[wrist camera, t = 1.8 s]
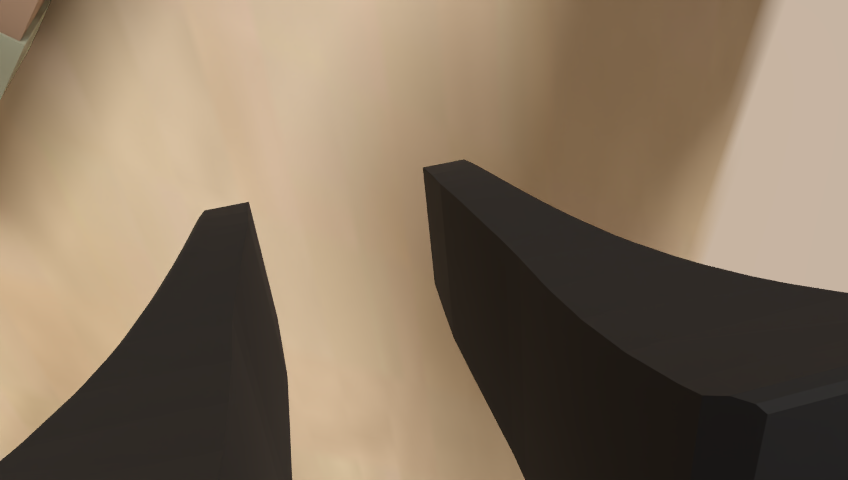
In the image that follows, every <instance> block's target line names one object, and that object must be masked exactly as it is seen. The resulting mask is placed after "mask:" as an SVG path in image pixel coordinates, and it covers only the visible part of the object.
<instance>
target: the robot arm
mask: <svg viewBox="0 0 848 480" xmlns="http://www.w3.org/2000/svg"><path fill="white" fill-rule="evenodd" d="M423 173H424V183H425V192H426V202H427V212H428V221H429V231H430V241H431V251H432V260H433V270H434V280H435V285H436V288H437V291H438V294H439V297H440V300H441V303H442V306H443V309H444V312H445V315H446V317H447V320H448V323H449V326H450V328H451V331H452V334H453V337H454V339H455V341H456V343H457V345H458V347H459V349H460V351H461V353H462V355H463V357H464V359H465V361H466V363H467V365H468V367H469V369H470V371H471V373H472V375H473V377H474V379H475V380H476V382H477V384H478V386H479V388H480V390H481V392H482V394H483V396H484V398H485V400H486V402H487V404H488V406H489V408H490V409H491V411H492V413H493V415H494V417H495V419H496V421H497V423H498V425H499V427H500V429H501V431H502V433H503V435H504V437H505V438H506V440H507V442H508V444H509V446H510V448H511V450H512V452H513V454H514V456H515V458H516V460H517V463H518V465H519V467H520V469H521V471H522V474H523V476H524V478H525V480H848V293H844V292H837V291H831V290H825V289H819V288H812V287H806V286H800V285H793V284H787V283H783V282H777V281H772V280H767V279H762V278H757V277H752V276H748V275H744V274H739V273H736V272H732V271H727V270H723V269H719V268H715V267H711V266H707V265H703V264H700V263H696V262H693V261H689V260H686V259H682V258H679V257H675V256H672V255H669V254H666V253H663V252H660V251H658V250H655V249H652V248H649V247H646V246H643V245H640V244H637V243H634V242H631V241H629V240H626V239H623V238H621V237H618V236H616V235H613V234H611V233H608V232H606V231H604V230H602V229H599V228H597V227H595V226H592V225H590V224H588V223H586V222H583V221H581V220H579V219H577V218H574V217H572V216H570V215H568V214H566V213H564V212H562V211H560V210H558V209H556V208H554V207H552V206H550V205H548V204H546V203H544V202H542V201H540V200H538V199H537V198H535V197H533V196H531V195H529V194H527V193H525V192H523V191H522V190H520V189H518V188H516V187H514V186H513V185H511V184H509V183H507V182H505V181H504V180H502V179H500V178H498V177H496V176H495V175H493V174H491V173H489V172H488V171H486V170H484V169H482V168H480V167H478V166H477V165H475V164H473V163H471V162H468V161H466V160H459V161H454V162H449V163H444V164H439V165H434V166H429V167H424V168H423ZM0 480H292V468H291V444H290V421H289V399H288V379H287V371H286V365H285V359H284V353H283V347H282V342H281V336H280V330H279V324H278V318H277V314H276V310H275V306H274V302H273V298H272V294H271V290H270V286H269V282H268V278H267V274H266V270H265V266H264V262H263V258H262V253H261V249H260V245H259V241H258V237H257V233H256V229H255V225H254V221H253V217H252V213H251V209H250V205H249V202H246V203H241V204H236V205H231V206H226V207H221V208H216V209H211V210H205V211H204V212H203V213H202V215H201V216H200V217H199V219H198V221H197V222H196V224H195V226H194V228H193V230H192V232H191V234H190V236H189V238H188V240H187V241H186V243H185V245H184V247H183V249H182V250H181V252H180V254H179V256H178V258H177V259H176V261H175V263H174V265H173V266H172V268H171V269H170V271H169V273H168V274H167V276H166V278H165V279H164V281H163V282H162V284H161V286H160V287H159V289H158V290H157V292H156V294H155V295H154V297H153V298H152V300H151V301H150V303H149V304H148V306H147V307H146V308H145V310H144V311H143V313H142V314H141V315H140V317H139V318H138V320H137V321H136V322H135V324H134V325H133V326H132V328H131V329H130V331H129V332H128V333H127V335H126V336H125V338H124V339H123V340H122V342H121V343H120V344H119V345H118V347H117V348H116V349H115V350H114V351H113V353H112V354H111V355H110V356H109V357H108V359H107V360H106V361H105V362H104V363H103V364H102V365H101V366H100V367H99V368H98V369H97V371H96V372H95V373H94V374H93V375H92V376H91V377H90V378H89V379H88V380H87V382H86V383H85V384H84V385H83V386H82V387H81V388H80V389H79V390H78V391H77V392H76V393H75V394H74V395H73V396H72V397H71V398H70V399H69V400H68V401H67V402H65V403H64V404H63V405H62V406H61V407H60V408H59V409H58V410H57V411H56V412H55V413H54V414H53V415H52V416H50V417H49V418H48V419H47V420H46V421H45V422H44V423H43V424H42V425H41V426H40V427H39V428H38V429H36V430H35V431H34V432H33V433H32V434H31V435H30V436H29V437H28V438H27V439H26V440H25V441H24V442H22V443H21V444H20V445H19V446H18V447H17V448H15V449H14V450H13V451H12V452H11V453H10V454H8V455H7V456H6V457H5V458H3V459H2V460H1V461H0Z"/></svg>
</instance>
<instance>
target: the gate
mask: <svg viewBox="0 0 848 480" xmlns="http://www.w3.org/2000/svg"><path fill="white" fill-rule="evenodd" d="M50 2H51V0H0V100H1V98H2V96H3V94H4V92H5V91H6V89H7V87H8V85H9V84H10V82H11V80H12V78H13V77H14V75H15V73H16V71H17V69H18V68H19V66H20V64H21V62H22V61H23V59H24V57H25V55H26V54H27V52H28V50H29V48H30V46H31V44H32V42H33V40H34V37H35V35H36V33H37V31H38V29H39V26H40V24H41V22H42V20H43V17H44V15H45V13H46V11H47V9H48V6H49V4H50Z"/></svg>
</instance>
